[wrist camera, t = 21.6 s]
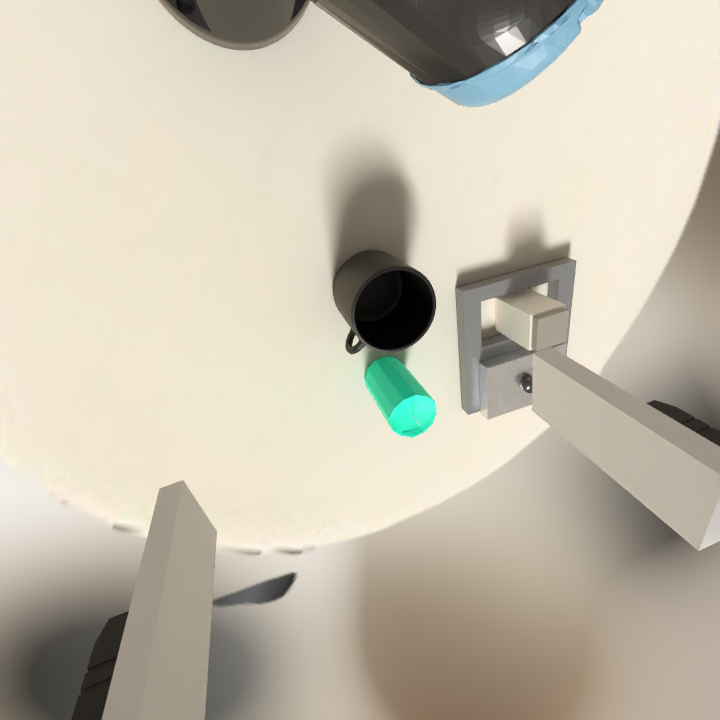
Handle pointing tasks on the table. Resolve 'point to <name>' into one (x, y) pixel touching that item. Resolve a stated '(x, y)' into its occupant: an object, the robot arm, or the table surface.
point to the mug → (383, 302)
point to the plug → (531, 319)
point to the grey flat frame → (480, 350)
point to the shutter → (508, 381)
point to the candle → (400, 397)
